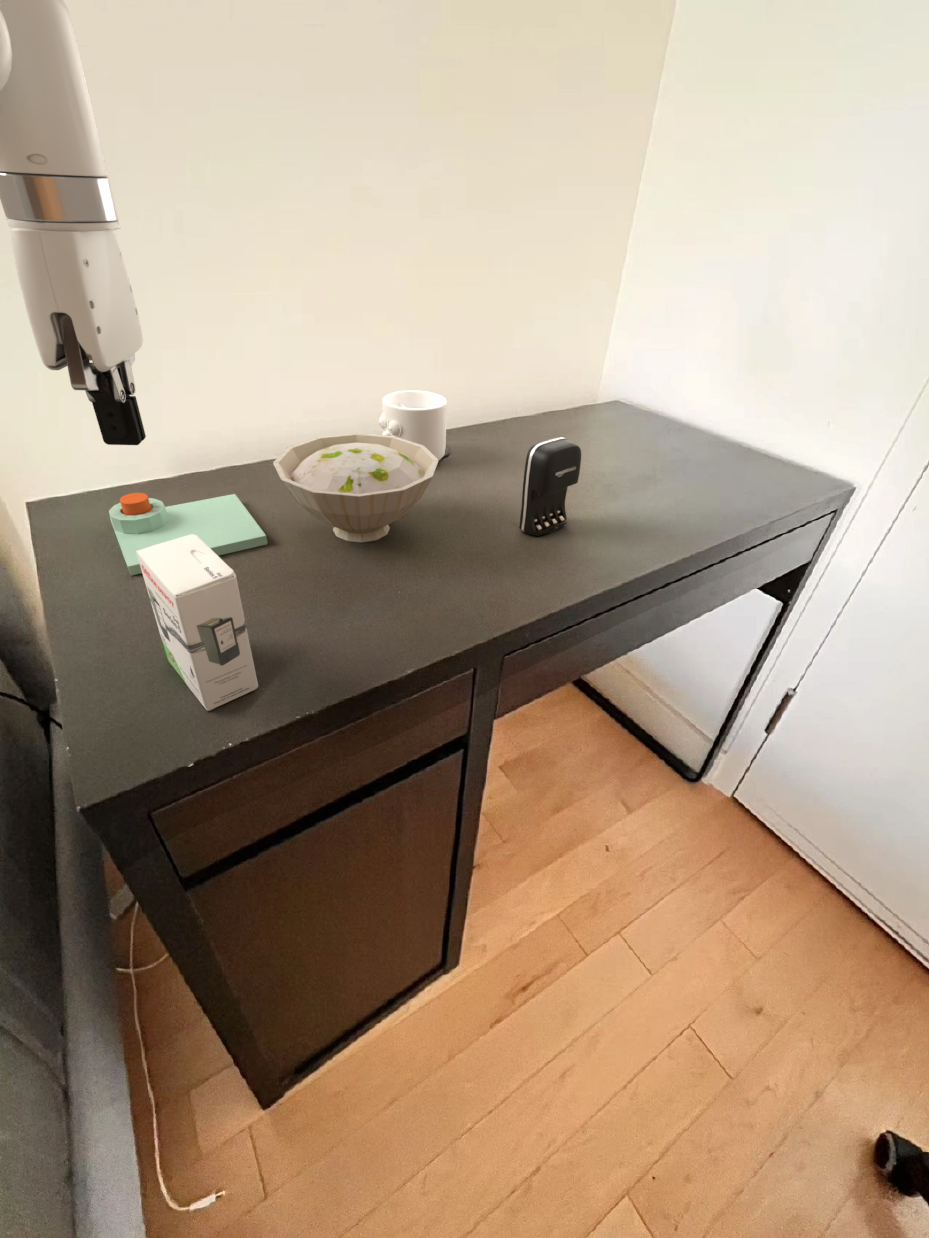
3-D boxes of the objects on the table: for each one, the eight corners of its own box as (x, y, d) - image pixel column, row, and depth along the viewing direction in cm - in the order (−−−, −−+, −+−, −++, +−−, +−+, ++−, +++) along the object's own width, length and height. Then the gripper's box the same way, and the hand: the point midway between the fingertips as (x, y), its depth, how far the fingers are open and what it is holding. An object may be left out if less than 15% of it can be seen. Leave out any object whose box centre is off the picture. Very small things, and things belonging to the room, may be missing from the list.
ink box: (166, 661, 55) (130, 547, 49) (219, 640, 58) (192, 530, 51) (206, 714, 50) (172, 595, 44) (262, 688, 53) (239, 572, 46)
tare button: (126, 519, 71) (121, 505, 70) (121, 509, 73) (117, 495, 72) (153, 514, 73) (150, 500, 72) (148, 504, 75) (145, 490, 74)
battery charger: (537, 542, 77) (549, 454, 70) (516, 530, 79) (525, 444, 72) (574, 527, 80) (589, 442, 74) (553, 516, 83) (565, 433, 76)
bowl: (334, 486, 87) (328, 415, 82) (460, 513, 82) (463, 440, 76) (249, 546, 73) (234, 465, 67) (396, 583, 68) (394, 500, 62)
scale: (130, 576, 66) (122, 551, 65) (112, 526, 75) (105, 503, 73) (267, 544, 73) (264, 521, 72) (236, 502, 82) (232, 480, 80)
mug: (362, 449, 99) (359, 392, 94) (416, 438, 104) (415, 383, 99) (401, 475, 92) (400, 414, 86) (457, 461, 97) (459, 403, 91)
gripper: (54, 199, 52) (114, 415, 63) (-53, 206, 40) (45, 472, 51) (145, 204, 53) (190, 417, 64) (68, 212, 41) (139, 474, 51)
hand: (125, 441), depth 57 cm, fingers closed
